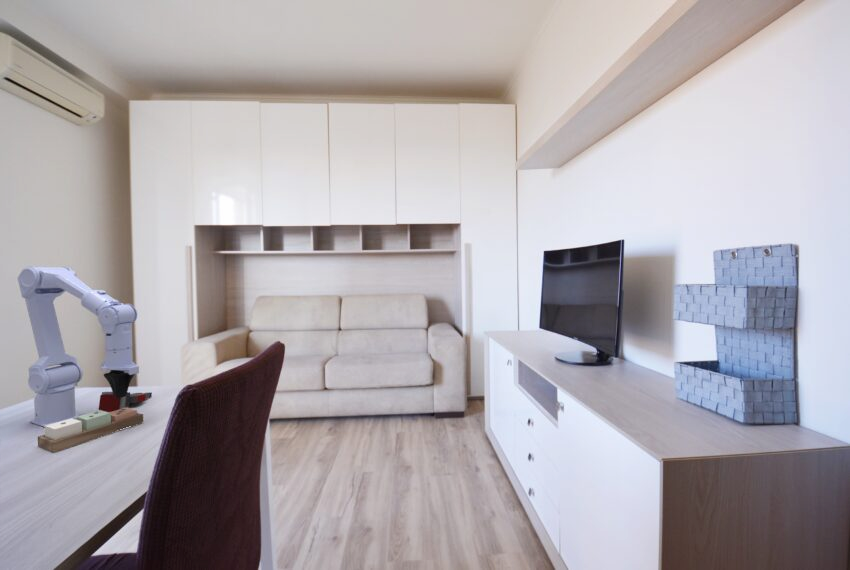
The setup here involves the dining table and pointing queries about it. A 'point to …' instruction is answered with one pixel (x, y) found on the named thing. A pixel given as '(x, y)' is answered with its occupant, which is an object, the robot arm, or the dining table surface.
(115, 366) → the robot arm
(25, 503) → the dining table surface
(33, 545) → the dining table surface
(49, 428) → the cream tile
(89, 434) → the board
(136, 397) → the toy
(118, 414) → the terracotta tile
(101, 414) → the sage tile
